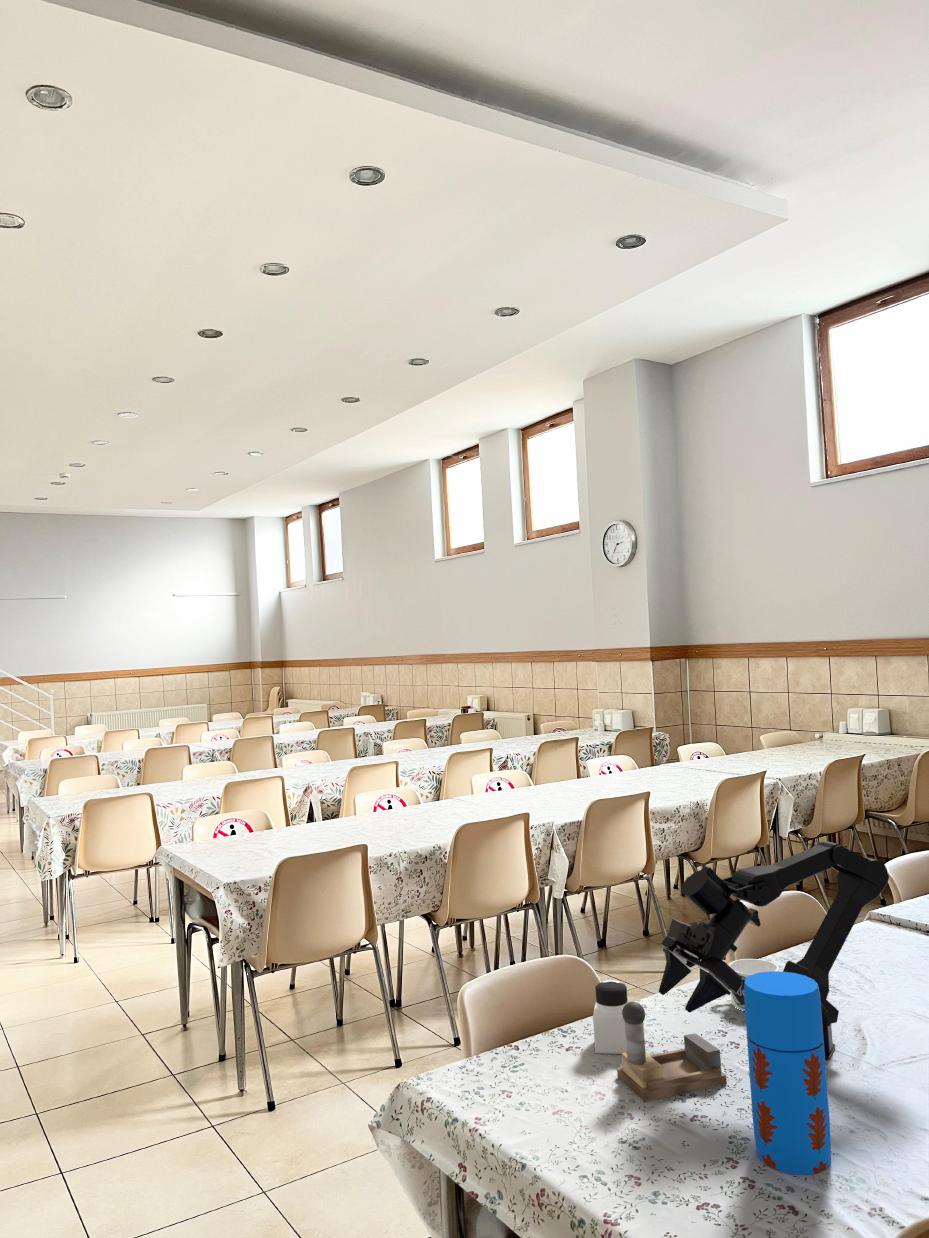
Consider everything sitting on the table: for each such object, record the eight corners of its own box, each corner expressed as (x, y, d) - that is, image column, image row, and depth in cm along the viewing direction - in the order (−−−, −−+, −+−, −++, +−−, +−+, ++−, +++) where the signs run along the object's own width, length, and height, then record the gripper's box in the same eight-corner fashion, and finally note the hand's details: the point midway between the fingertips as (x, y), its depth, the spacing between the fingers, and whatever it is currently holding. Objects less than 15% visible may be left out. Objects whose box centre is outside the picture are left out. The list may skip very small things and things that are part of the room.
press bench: (695, 1061, 166) (693, 1030, 167) (726, 1084, 157) (724, 1051, 157) (617, 1077, 162) (615, 1045, 162) (644, 1101, 152) (642, 1068, 153)
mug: (787, 1000, 193) (784, 962, 194) (775, 1017, 184) (772, 977, 185) (724, 991, 201) (722, 954, 201) (710, 1007, 192) (707, 969, 192)
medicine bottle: (633, 1055, 171) (628, 990, 171) (595, 1053, 172) (591, 989, 173) (633, 1039, 178) (629, 977, 178) (597, 1038, 179) (593, 976, 180)
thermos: (795, 1183, 126) (782, 1001, 128) (739, 1149, 136) (727, 980, 137) (849, 1160, 131) (835, 985, 133) (791, 1129, 141) (779, 966, 142)
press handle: (642, 1066, 162) (637, 992, 163) (663, 1084, 155) (658, 1006, 156) (617, 1071, 161) (612, 996, 161) (637, 1089, 153) (632, 1011, 154)
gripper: (666, 891, 172) (618, 959, 168) (721, 915, 154) (669, 991, 150) (706, 927, 174) (659, 995, 170) (765, 954, 156) (714, 1031, 152)
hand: (673, 1001), depth 161 cm, fingers open, 9 cm apart
